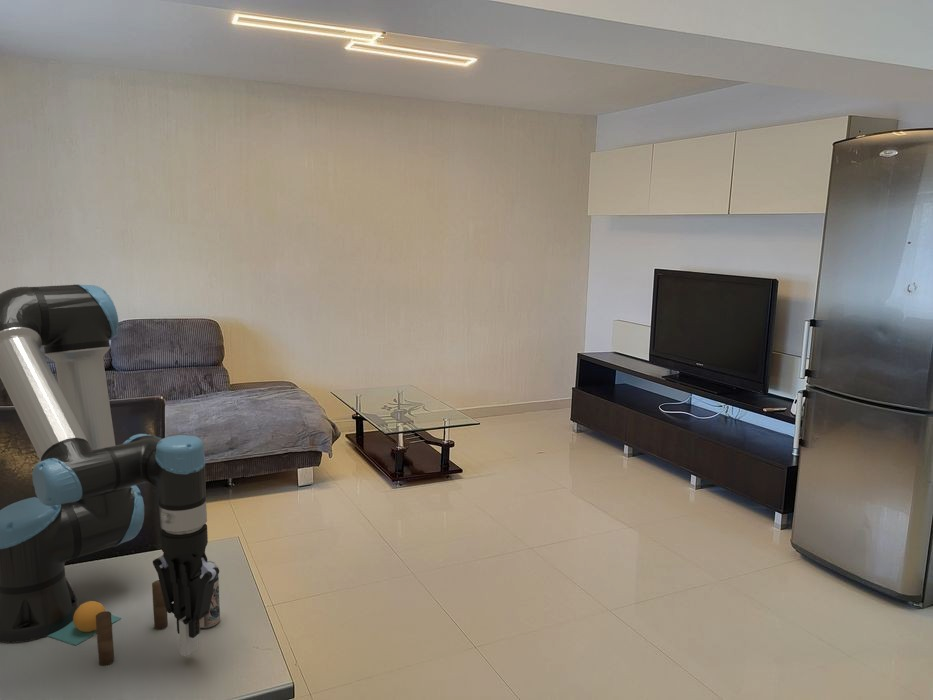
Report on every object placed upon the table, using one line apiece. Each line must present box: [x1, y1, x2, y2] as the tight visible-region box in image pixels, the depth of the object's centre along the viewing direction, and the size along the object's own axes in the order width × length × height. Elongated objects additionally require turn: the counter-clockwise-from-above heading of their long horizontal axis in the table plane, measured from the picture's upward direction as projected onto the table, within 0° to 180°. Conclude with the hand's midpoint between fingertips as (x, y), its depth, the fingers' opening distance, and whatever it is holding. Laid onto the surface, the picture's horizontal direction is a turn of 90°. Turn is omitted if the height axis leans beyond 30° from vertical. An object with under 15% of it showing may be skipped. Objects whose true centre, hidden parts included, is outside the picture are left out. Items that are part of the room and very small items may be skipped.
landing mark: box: [46, 614, 122, 647], centre depth 134 cm, size 10×10×1 cm
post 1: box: [96, 610, 115, 667], centre depth 122 cm, size 2×2×9 cm
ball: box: [73, 600, 107, 632], centre depth 132 cm, size 6×6×6 cm
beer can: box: [199, 560, 221, 629], centre depth 135 cm, size 5×5×12 cm
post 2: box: [151, 579, 169, 631], centre depth 134 cm, size 2×2×9 cm
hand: (189, 651), depth 124 cm, fingers closed
